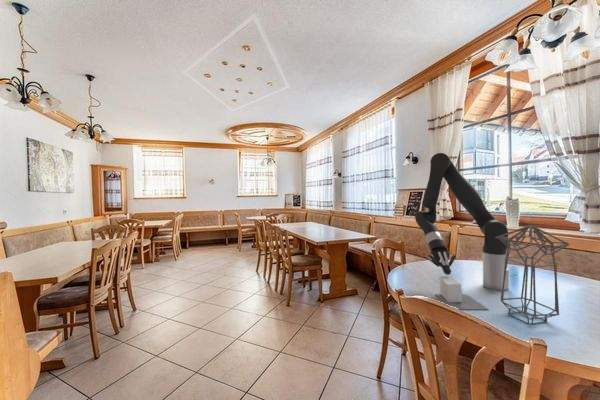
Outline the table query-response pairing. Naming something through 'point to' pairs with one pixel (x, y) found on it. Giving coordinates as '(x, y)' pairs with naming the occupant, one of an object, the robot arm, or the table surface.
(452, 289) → the small box
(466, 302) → the mat
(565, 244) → the geometric lantern
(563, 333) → the table surface
